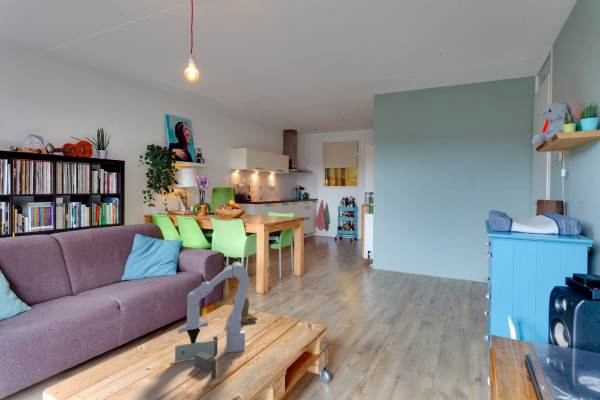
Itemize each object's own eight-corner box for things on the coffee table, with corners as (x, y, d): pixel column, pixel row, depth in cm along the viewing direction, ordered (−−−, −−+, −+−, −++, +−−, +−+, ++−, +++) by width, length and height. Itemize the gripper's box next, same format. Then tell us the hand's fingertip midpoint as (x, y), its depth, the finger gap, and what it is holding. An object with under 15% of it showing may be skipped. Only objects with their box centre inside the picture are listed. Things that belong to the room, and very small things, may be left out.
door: (216, 352, 162) (216, 338, 162) (216, 354, 160) (216, 340, 159) (175, 359, 154) (175, 345, 154) (175, 362, 152) (175, 347, 152)
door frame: (217, 351, 164) (217, 336, 163) (215, 378, 140) (215, 360, 140) (213, 352, 163) (213, 336, 163) (211, 379, 140) (211, 361, 140)
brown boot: (229, 318, 207) (230, 295, 206) (246, 314, 214) (246, 291, 213) (240, 326, 194) (240, 301, 194) (257, 322, 201) (258, 298, 201)
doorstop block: (213, 368, 148) (213, 355, 148) (206, 372, 145) (206, 359, 145) (201, 363, 153) (201, 351, 152) (194, 367, 149) (194, 354, 149)
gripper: (204, 310, 168) (203, 336, 168) (175, 317, 159) (175, 344, 159) (209, 314, 163) (209, 341, 163) (180, 322, 153) (180, 350, 154)
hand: (193, 343), depth 161 cm, fingers closed
